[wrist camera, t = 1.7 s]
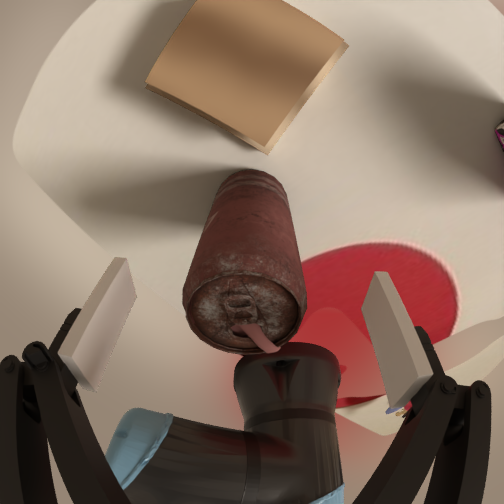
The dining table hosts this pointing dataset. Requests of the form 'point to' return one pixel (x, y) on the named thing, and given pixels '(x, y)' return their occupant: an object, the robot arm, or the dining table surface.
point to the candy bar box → (500, 133)
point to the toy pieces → (399, 408)
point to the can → (246, 269)
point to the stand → (246, 65)
